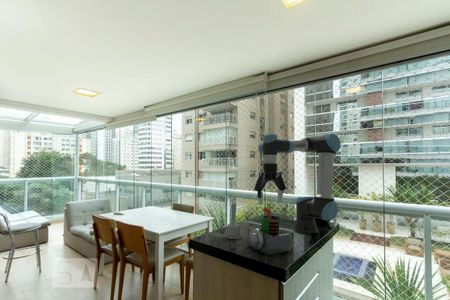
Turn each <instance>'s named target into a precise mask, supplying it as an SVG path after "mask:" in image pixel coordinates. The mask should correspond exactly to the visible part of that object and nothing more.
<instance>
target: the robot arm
mask: <svg viewBox="0 0 450 300" xmlns="http://www.w3.org/2000/svg"><path fill="white" fill-rule="evenodd" d="M262 138H263V141H262V142H260V143H259V144H258V152H259V153H260V154H261V155H263V165H262V167H263V168H262V169H263V171H259V173H258V177H257V180H256V183H255V186H254V188H253V190H254V191H255V192H257V194H256V195H257V198H258V200H257V203H258V205H264V192H263V189H264V188H265V186H266V185H267V183H268V182H271V181H272V182H274V184H275V186H276V187H277V189H278V190H277V203H280V204H282V203H283V196H284V191H285V190H286V189H287V187H286V184H285V182H284V179H283V177H282V172H281V171H278V168H279V167H278V166H279V165H278V157H279V156H278V154H292V152H300V153H316V155H317V156H318V169H317V170H318V171H317V188H316V194H315V195H314V196H313V195H312V196H298V197H297V198H296V203H295V205H296V206H295V207H296V209H295V211H296V213H295V215H296V216H295V217H296V219H295V222H294V225H293V231H294V232H295V231H296V232H295V233H297V232H299V233H298V234H302V233H304V234H303V235H313V234H312V233H317V232H318V230H319V229H318V228H317V224H316V219H320V220H323V221H333V220H335V218H336V217H337V215H338V213H339V205H338V203H337V202H336V201H335V197H334V196H333V175H334V174H333V173H334V157H336V156H337V152H339V151H340V149H341V148H342V147H341V146H342V145H341V144H342V143H341V140H340V138H339V136H338V135H337V134H336V133H324V134H323V133H322V134H317V135H314V134H313V135H310V136H306V137H300V138H299V139H290V140H289V139H283V138H282V139H280V138H278V134H275V133H268V134H267V133H266V134H264V135H263V137H262ZM317 234H318V233H317Z"/></svg>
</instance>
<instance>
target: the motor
mask: <svg viewBox="0 0 450 300" xmlns="http://www.w3.org/2000/svg"><path fill="white" fill-rule="evenodd" d="M262 211H263V213H266V214H264V215H261V221H260V222H261V224H260V226H261V227H260V228H261V231H262V232H265V233H268V234H271V235H272V236H274V235H280V217H281V216H279V215H272V212H271V209H270V208H269V207H263V210H262Z"/></svg>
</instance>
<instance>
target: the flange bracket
mask: <svg viewBox="0 0 450 300" xmlns="http://www.w3.org/2000/svg"><path fill="white" fill-rule="evenodd" d="M247 246H248V247H250V248H253V249H254V250H255V251H259V252H261V253H263V254H266V255H267V256H269V255H271V256H272V255H275V254H281V253H284V252H289V251H290V250H291V249H290V233H283V234H282V233H281V234H279V235H274V236H272V235H271V234H268V233H265V232H262V231H261V227H260V228H257V227H255V228H254V227H248V228H247Z"/></svg>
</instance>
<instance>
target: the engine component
mask: <svg viewBox="0 0 450 300" xmlns="http://www.w3.org/2000/svg"><path fill="white" fill-rule="evenodd" d="M230 206H231V208H230V212H231V223H228V224H227V226H225V230H224V237H225V238H226V239H230V240H237V239H241V238H242V230H241V229H242V227H241V225H240V223H236V214H237V201H231V205H230Z"/></svg>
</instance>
